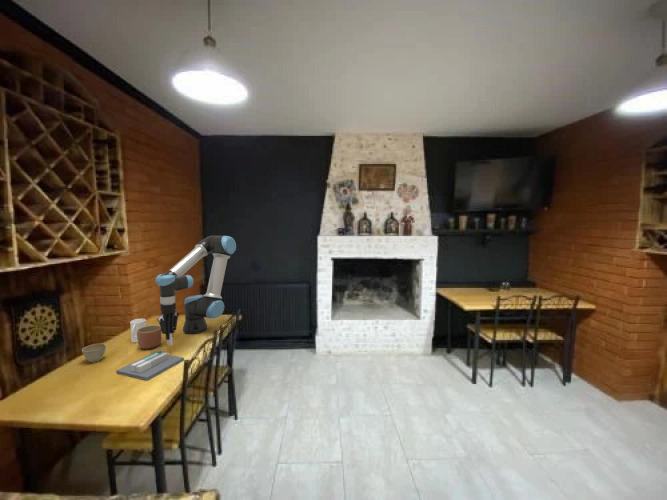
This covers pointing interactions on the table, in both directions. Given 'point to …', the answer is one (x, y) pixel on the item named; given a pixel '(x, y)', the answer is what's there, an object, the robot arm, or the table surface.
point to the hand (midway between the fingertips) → (169, 344)
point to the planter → (149, 336)
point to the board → (152, 370)
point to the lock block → (158, 350)
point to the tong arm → (133, 366)
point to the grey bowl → (94, 352)
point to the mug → (136, 328)
